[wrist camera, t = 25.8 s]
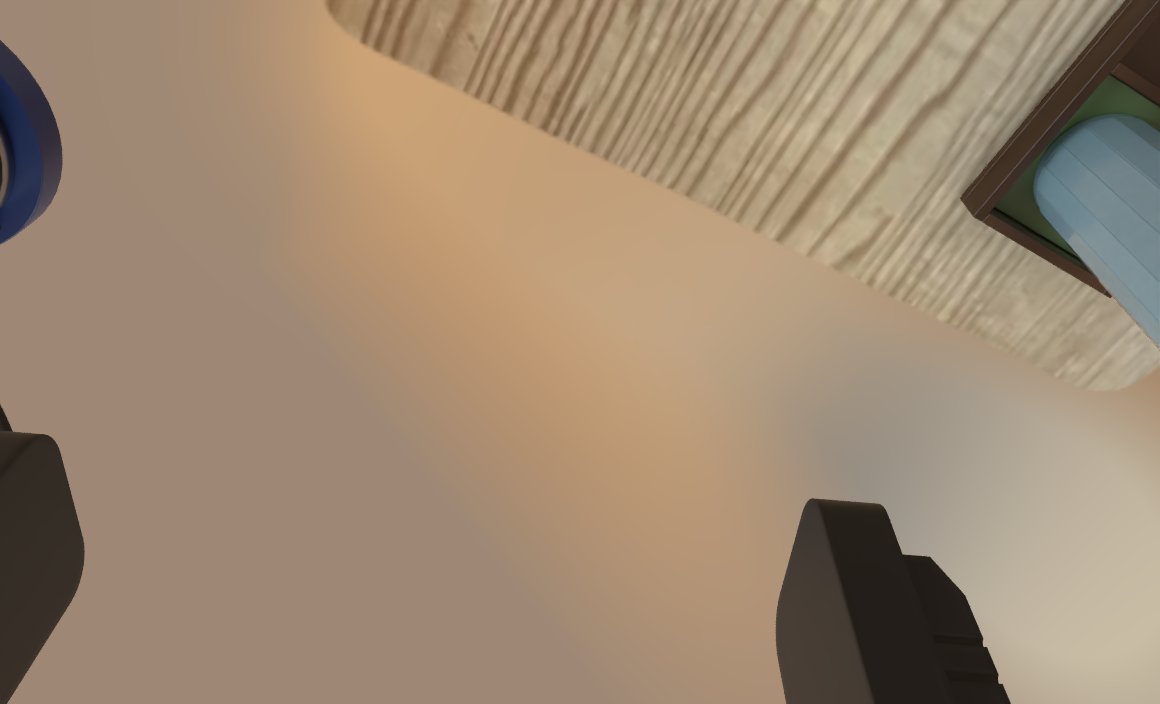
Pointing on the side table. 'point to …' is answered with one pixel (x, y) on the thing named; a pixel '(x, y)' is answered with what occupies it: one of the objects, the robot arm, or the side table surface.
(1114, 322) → the side table surface
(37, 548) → the robot arm
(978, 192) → the tray
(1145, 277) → the cup
